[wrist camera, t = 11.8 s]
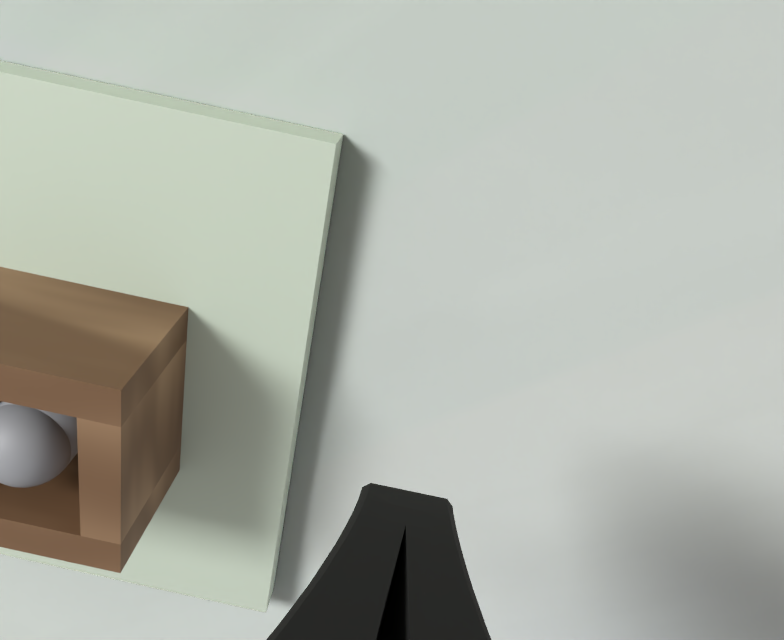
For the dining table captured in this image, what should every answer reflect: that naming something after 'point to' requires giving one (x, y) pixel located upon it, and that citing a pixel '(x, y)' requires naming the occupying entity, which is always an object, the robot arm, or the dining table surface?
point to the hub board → (177, 298)
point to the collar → (92, 413)
